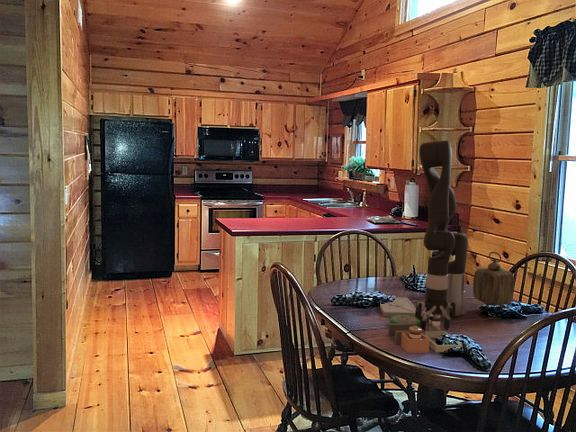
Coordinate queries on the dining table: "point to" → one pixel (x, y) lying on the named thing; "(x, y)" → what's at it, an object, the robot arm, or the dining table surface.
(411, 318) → the tape roll
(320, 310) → the dining table surface
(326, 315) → the dining table surface
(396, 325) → the cradle
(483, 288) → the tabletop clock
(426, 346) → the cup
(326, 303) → the dining table surface
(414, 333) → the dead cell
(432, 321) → the cell
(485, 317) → the dining table surface
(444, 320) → the robot arm
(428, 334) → the trough
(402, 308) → the envelope
